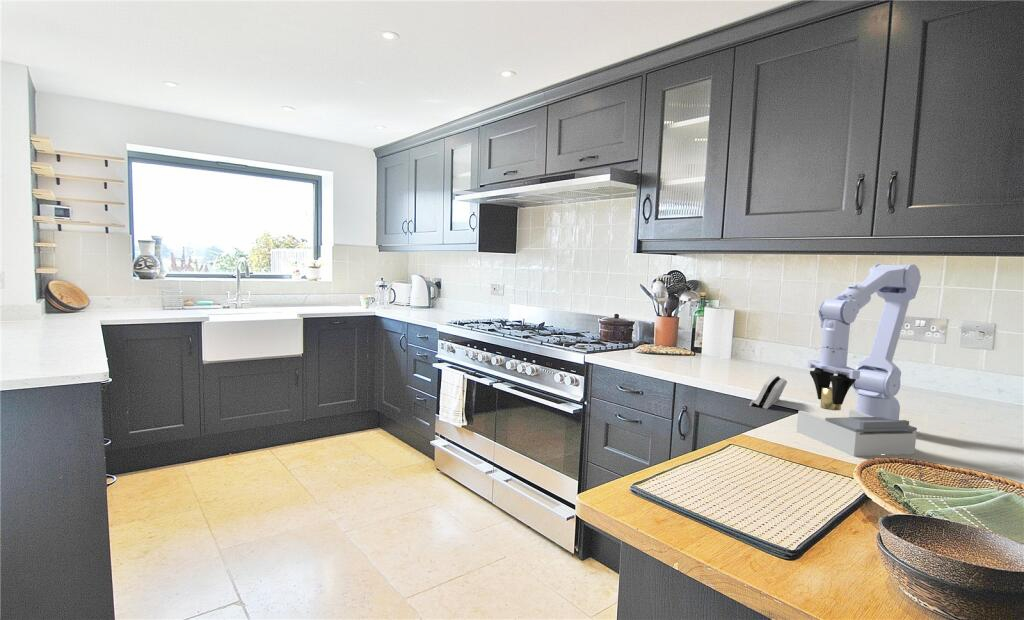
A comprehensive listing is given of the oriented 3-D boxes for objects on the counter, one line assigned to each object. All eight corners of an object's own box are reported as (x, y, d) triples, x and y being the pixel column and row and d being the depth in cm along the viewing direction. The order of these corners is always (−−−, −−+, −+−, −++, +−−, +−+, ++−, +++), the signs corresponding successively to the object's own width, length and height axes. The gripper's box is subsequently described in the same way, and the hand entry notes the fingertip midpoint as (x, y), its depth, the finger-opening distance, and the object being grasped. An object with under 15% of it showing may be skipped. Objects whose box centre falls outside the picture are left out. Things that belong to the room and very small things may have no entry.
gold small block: (834, 406, 136) (835, 387, 136) (844, 410, 132) (846, 390, 132) (816, 406, 136) (818, 386, 136) (826, 410, 132) (828, 389, 132)
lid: (882, 419, 131) (883, 410, 130) (916, 430, 122) (917, 421, 122) (825, 420, 128) (826, 411, 127) (855, 431, 119) (856, 422, 119)
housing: (850, 430, 140) (852, 409, 139) (914, 454, 122) (916, 430, 122) (796, 432, 137) (798, 410, 136) (853, 456, 119) (855, 432, 119)
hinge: (762, 396, 176) (775, 369, 173) (776, 403, 174) (790, 376, 171) (748, 405, 163) (763, 376, 160) (764, 413, 160) (778, 384, 158)
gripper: (799, 343, 139) (795, 394, 140) (843, 352, 125) (838, 409, 126) (823, 343, 140) (818, 394, 142) (869, 352, 126) (864, 409, 127)
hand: (829, 401), depth 134 cm, fingers closed on gold small block, 4 cm apart
